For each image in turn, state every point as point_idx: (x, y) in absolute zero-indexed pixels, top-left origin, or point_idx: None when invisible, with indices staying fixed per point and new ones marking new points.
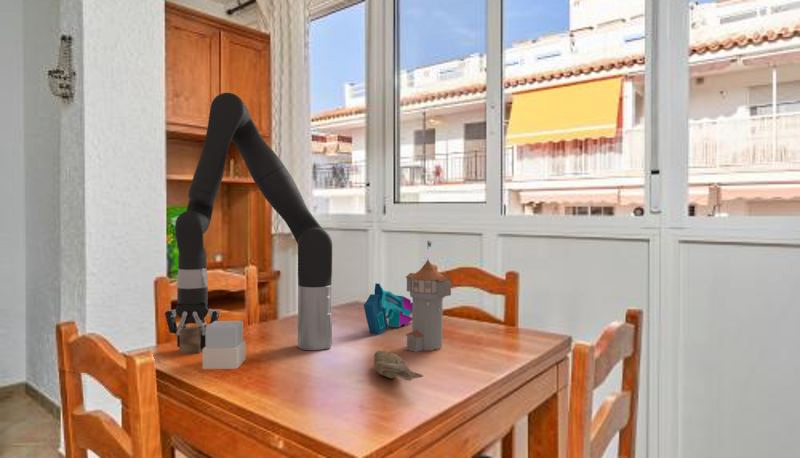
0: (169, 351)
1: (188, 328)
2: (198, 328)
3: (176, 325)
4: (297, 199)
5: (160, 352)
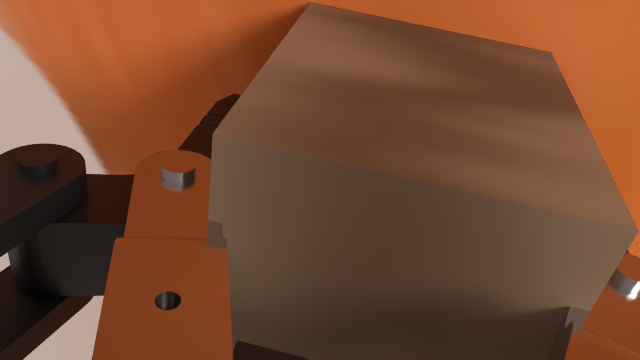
0: (151, 87)
1: (290, 283)
2: (481, 332)
3: (22, 223)
4: None
5: (78, 104)
